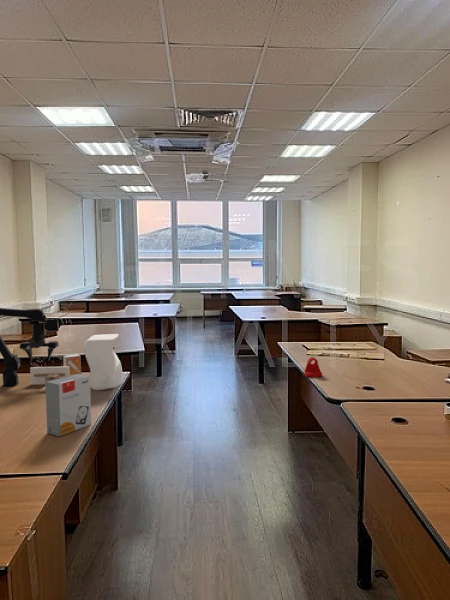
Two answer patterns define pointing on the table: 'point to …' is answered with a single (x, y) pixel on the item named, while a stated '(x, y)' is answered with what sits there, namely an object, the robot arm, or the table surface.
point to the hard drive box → (68, 404)
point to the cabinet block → (52, 377)
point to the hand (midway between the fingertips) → (40, 360)
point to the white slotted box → (41, 372)
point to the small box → (73, 363)
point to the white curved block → (103, 362)
